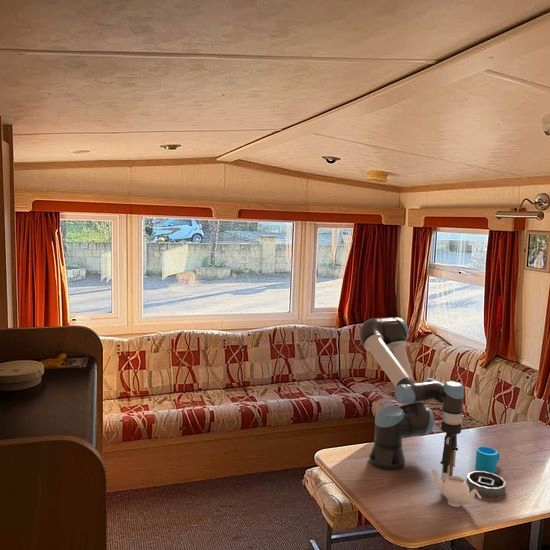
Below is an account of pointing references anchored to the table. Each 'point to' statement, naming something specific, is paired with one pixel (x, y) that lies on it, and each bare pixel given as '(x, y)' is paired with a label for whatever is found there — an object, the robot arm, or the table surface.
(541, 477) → the table surface
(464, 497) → the teapot
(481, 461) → the mug
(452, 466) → the square wooden stick
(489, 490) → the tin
